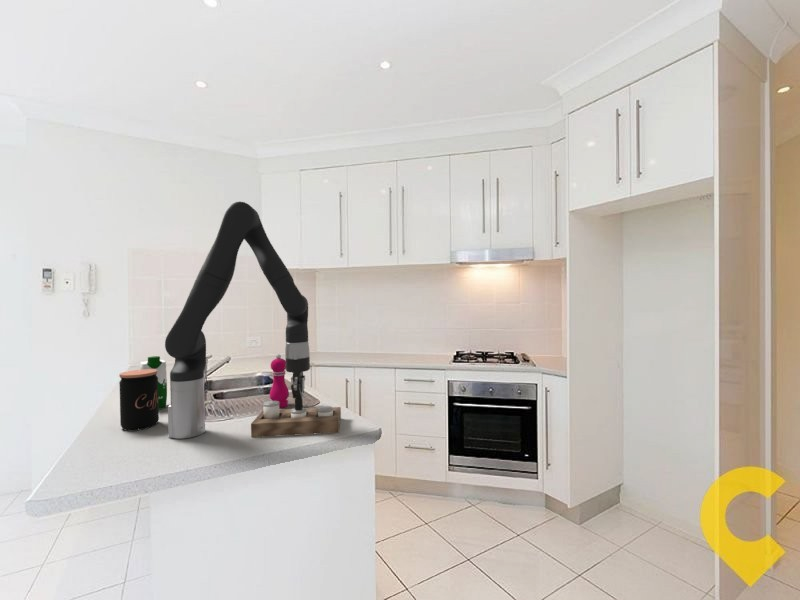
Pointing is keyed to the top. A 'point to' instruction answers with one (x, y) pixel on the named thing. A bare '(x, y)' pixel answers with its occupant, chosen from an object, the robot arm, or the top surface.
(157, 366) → the milk carton
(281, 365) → the pepper mill
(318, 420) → the control board
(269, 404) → the knob
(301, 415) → the middle knob
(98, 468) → the top surface
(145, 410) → the coffee jar
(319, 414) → the knob
